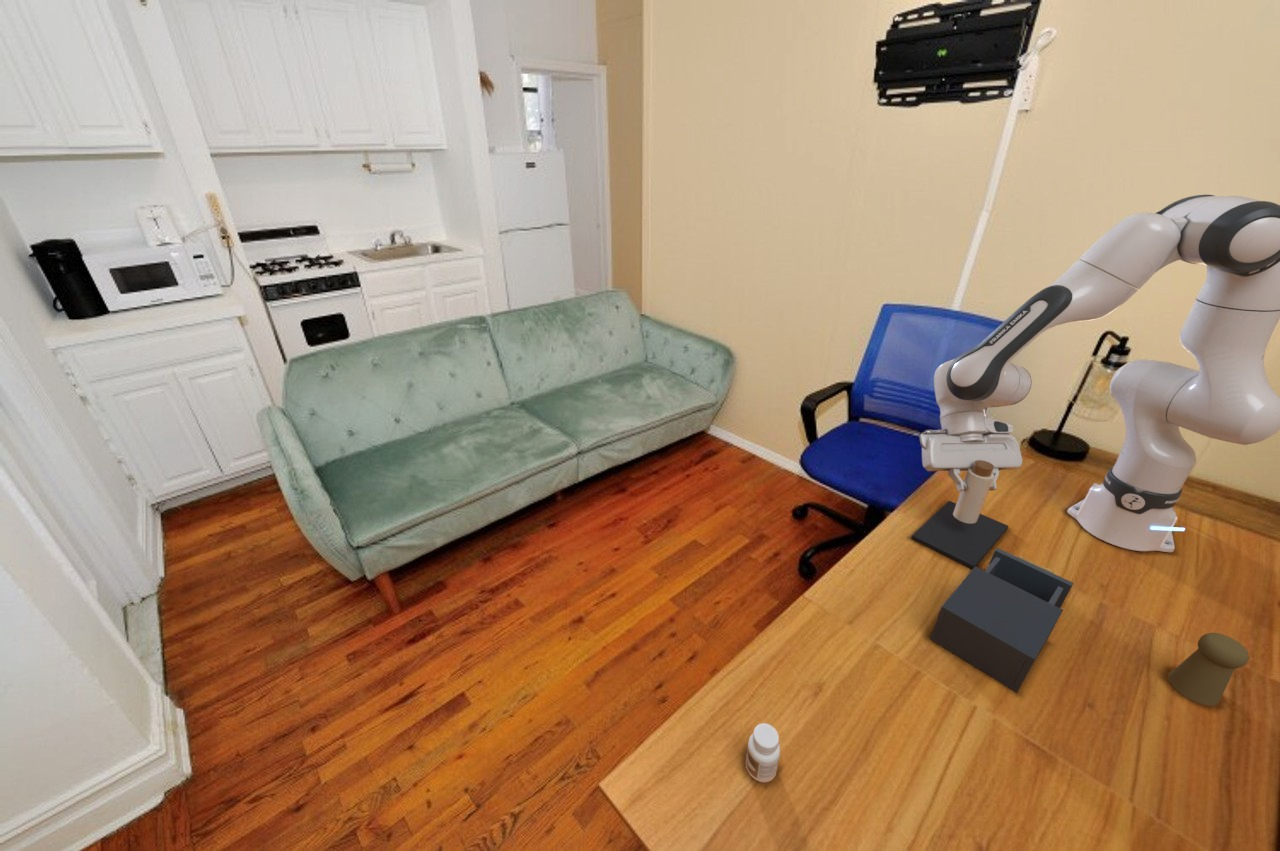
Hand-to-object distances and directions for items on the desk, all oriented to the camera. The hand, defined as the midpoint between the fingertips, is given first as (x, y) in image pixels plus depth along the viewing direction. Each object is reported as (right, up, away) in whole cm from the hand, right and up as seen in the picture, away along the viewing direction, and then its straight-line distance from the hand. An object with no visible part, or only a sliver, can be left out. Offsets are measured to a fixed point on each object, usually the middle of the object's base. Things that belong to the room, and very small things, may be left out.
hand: (977, 490), depth 109 cm
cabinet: (-11, -25, -19) cm, 33 cm away
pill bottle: (-56, -36, -37) cm, 76 cm away
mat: (0, -11, +7) cm, 13 cm away
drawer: (-1, -20, -12) cm, 23 cm away
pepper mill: (0, -7, +4) cm, 8 cm away
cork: (+17, -29, -27) cm, 43 cm away
